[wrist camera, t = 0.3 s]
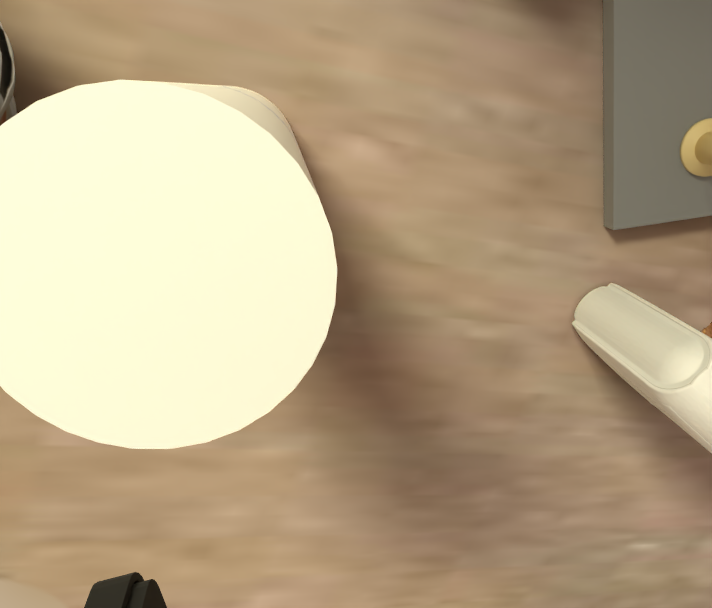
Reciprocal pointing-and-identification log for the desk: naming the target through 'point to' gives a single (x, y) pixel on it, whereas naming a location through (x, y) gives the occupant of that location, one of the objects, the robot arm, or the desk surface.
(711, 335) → the sunglasses case
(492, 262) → the desk surface
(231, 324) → the cylindrical container
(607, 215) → the pin board
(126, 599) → the robot arm
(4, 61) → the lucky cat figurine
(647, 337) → the photo printer
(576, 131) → the desk surface
